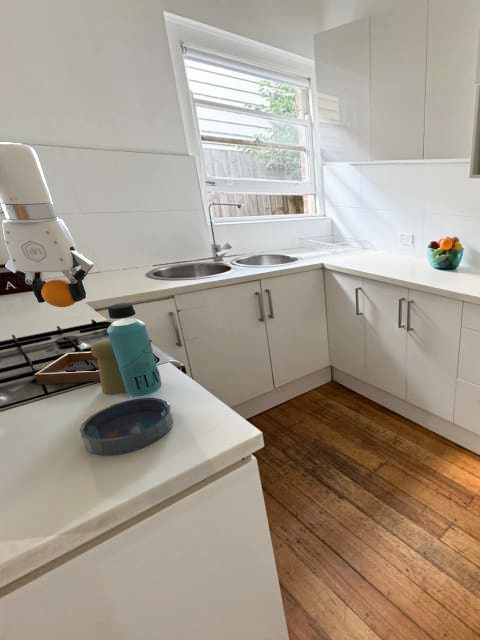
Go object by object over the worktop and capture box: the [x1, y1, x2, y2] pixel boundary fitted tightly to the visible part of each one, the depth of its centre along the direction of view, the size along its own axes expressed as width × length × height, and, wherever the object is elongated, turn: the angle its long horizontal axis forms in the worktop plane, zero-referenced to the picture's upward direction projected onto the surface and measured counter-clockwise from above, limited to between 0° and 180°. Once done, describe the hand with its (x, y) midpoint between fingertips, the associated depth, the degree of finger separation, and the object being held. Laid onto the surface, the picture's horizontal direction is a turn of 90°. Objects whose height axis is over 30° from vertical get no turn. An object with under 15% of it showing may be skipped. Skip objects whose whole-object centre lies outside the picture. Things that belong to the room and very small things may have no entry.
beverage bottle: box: [106, 302, 162, 397], centre depth 76 cm, size 6×7×20 cm
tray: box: [33, 351, 101, 385], centre depth 89 cm, size 13×11×2 cm
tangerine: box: [41, 278, 76, 308], centre depth 82 cm, size 6×6×6 cm
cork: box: [90, 338, 127, 396], centre depth 81 cm, size 6×6×11 cm
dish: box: [78, 397, 175, 457], centre depth 69 cm, size 13×13×3 cm
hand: (62, 299), depth 82 cm, fingers closed on tangerine, 6 cm apart
